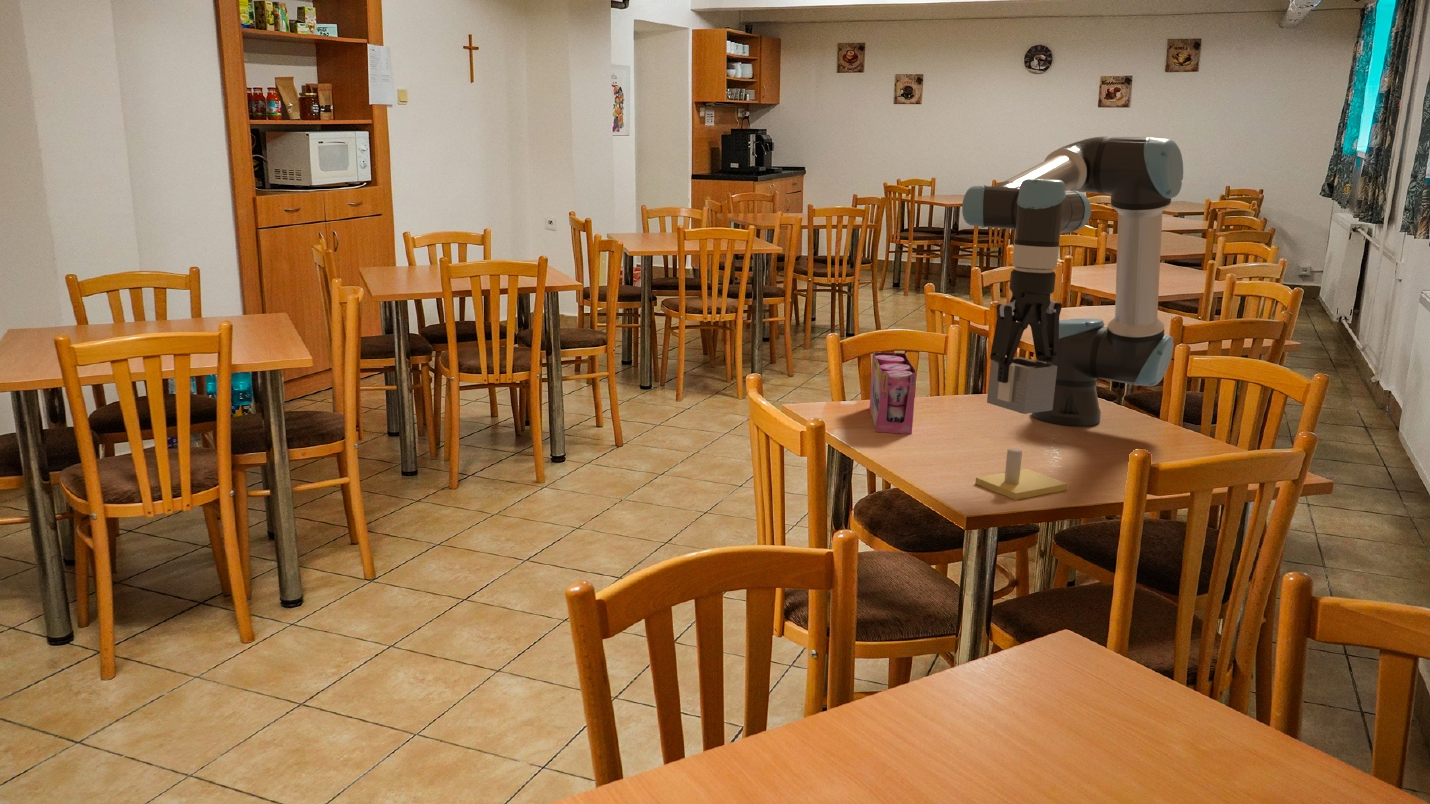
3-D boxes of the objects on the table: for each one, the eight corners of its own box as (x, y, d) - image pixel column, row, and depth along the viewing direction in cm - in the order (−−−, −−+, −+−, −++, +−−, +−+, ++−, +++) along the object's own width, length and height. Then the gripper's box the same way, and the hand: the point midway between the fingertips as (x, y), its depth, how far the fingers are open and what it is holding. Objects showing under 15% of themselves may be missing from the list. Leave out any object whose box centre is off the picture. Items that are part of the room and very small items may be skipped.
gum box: (913, 436, 226) (918, 374, 223) (876, 434, 227) (880, 372, 223) (902, 409, 249) (906, 352, 246) (868, 407, 250) (872, 351, 247)
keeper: (1025, 474, 201) (1029, 438, 200) (1066, 489, 193) (1071, 452, 191) (975, 483, 195) (978, 446, 193) (1015, 499, 187) (1019, 460, 185)
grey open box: (986, 402, 191) (991, 359, 189) (1014, 399, 195) (1019, 356, 193) (1024, 414, 184) (1028, 368, 182) (1052, 410, 187) (1057, 366, 185)
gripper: (1057, 265, 191) (1043, 389, 197) (975, 268, 182) (963, 398, 187) (1090, 270, 185) (1075, 397, 191) (1007, 273, 175) (994, 408, 181)
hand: (1020, 398), depth 189 cm, fingers closed on grey open box, 7 cm apart
